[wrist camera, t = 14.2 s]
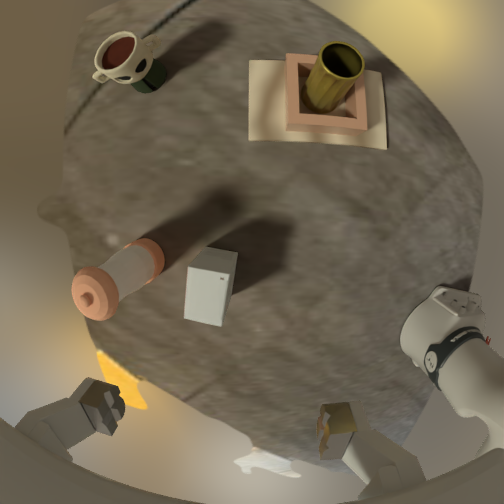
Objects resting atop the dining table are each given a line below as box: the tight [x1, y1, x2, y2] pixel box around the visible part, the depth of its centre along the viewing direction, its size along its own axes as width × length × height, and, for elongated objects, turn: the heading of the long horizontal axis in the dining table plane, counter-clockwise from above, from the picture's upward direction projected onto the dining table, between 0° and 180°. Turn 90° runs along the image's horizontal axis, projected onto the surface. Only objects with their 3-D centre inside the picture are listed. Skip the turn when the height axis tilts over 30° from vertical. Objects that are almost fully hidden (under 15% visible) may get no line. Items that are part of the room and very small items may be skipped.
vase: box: [301, 41, 365, 114], centre depth 29 cm, size 6×6×14 cm
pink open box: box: [284, 53, 367, 136], centre depth 33 cm, size 11×11×6 cm
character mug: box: [92, 30, 166, 93], centre depth 31 cm, size 11×7×13 cm, turn 116°
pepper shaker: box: [72, 238, 165, 320], centre depth 36 cm, size 7×7×19 cm
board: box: [249, 60, 387, 150], centre depth 36 cm, size 22×14×1 cm, turn 90°
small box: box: [184, 247, 238, 326], centre depth 40 cm, size 8×6×10 cm
